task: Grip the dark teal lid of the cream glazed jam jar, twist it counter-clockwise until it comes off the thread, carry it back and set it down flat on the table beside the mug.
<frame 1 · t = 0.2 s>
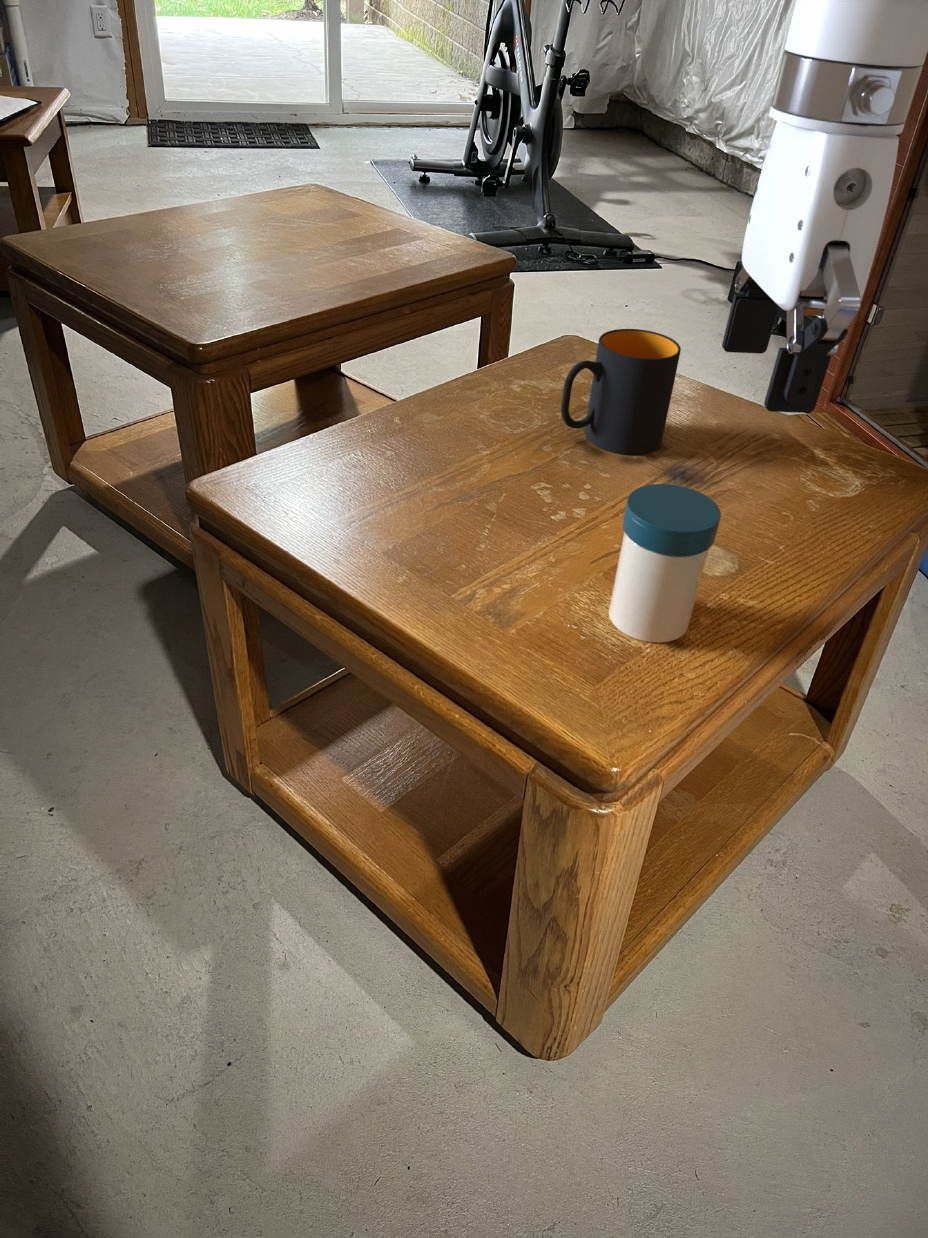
hand: (764, 378, 64), 20 cm above the table, tool pointing down, fingers open, 9 cm apart
jar: (648, 617, 75), on the table
mug: (607, 440, 100), on the table
jar lid: (672, 511, 69), point 10 cm above the table, screwed on, not yet turned
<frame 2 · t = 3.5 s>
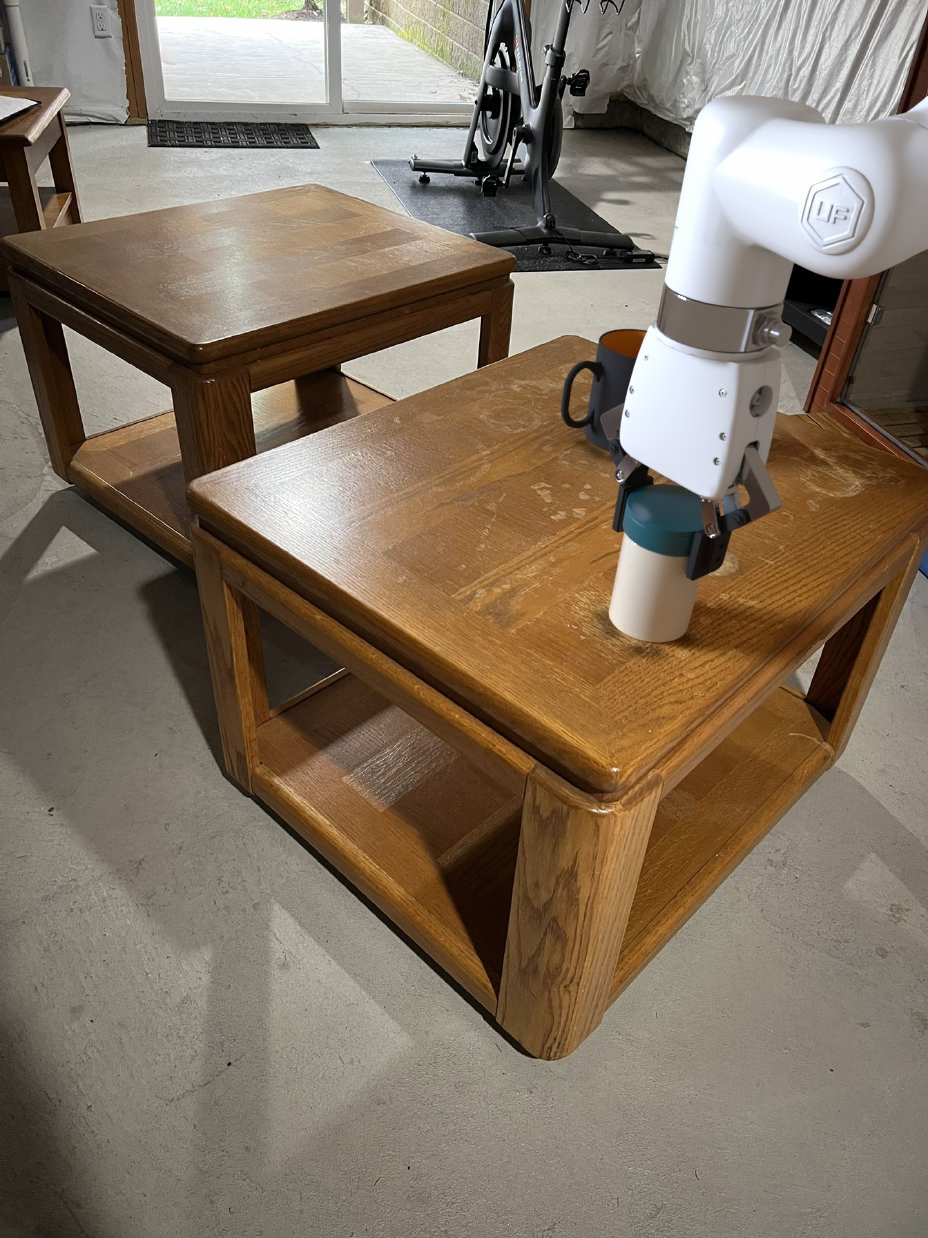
hand: (664, 547, 71), 7 cm above the table, tool pointing down, fingers closed on jar lid, 6 cm apart
jar lid: (672, 511, 69), point 10 cm above the table, screwed on, not yet turned, touching gripper
everything else where it was.
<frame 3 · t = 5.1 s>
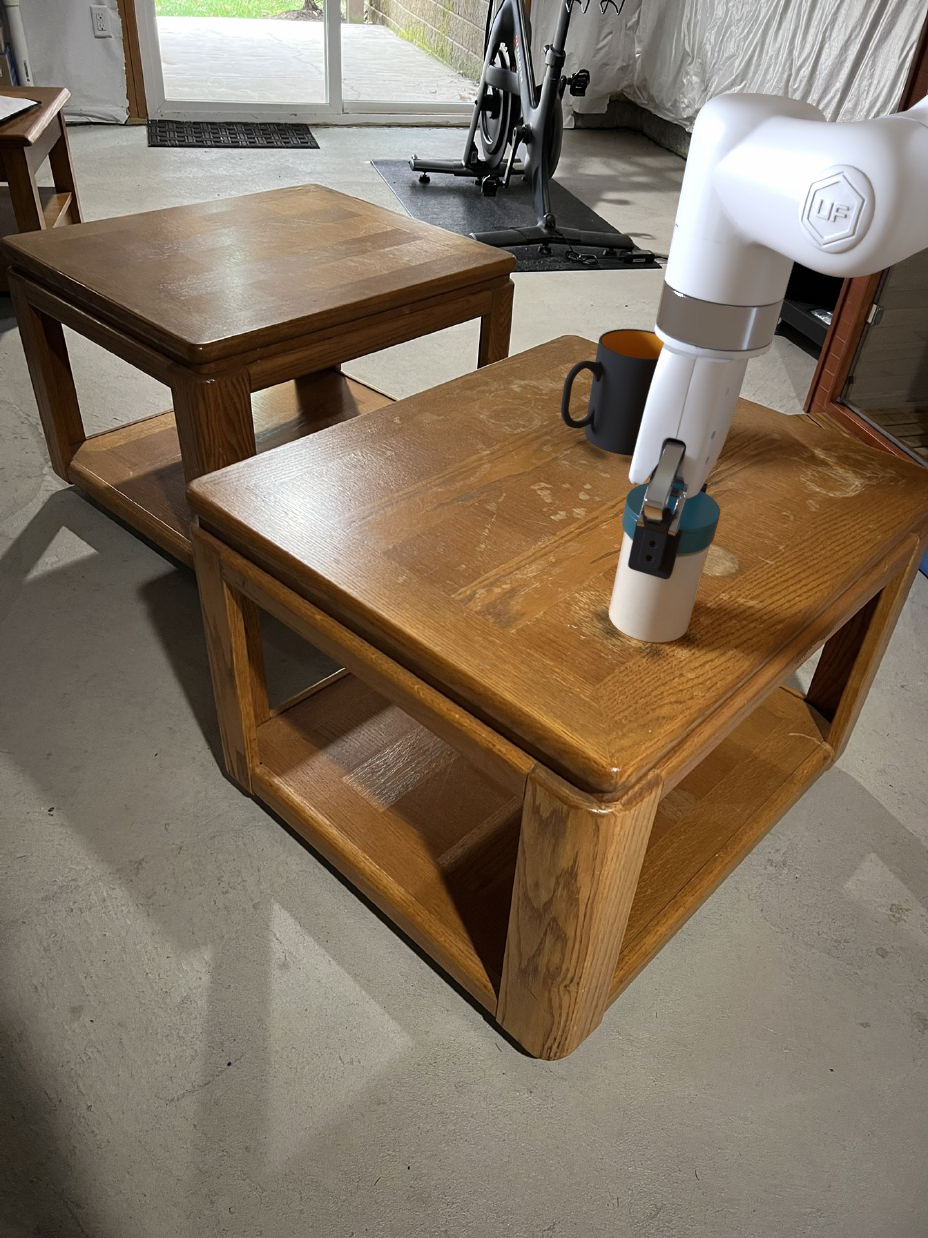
hand: (663, 545, 71), 7 cm above the table, tool pointing down, fingers closed on jar lid, 6 cm apart
jar lid: (672, 509, 69), point 10 cm above the table, off its thread, touching gripper
everything else where it was.
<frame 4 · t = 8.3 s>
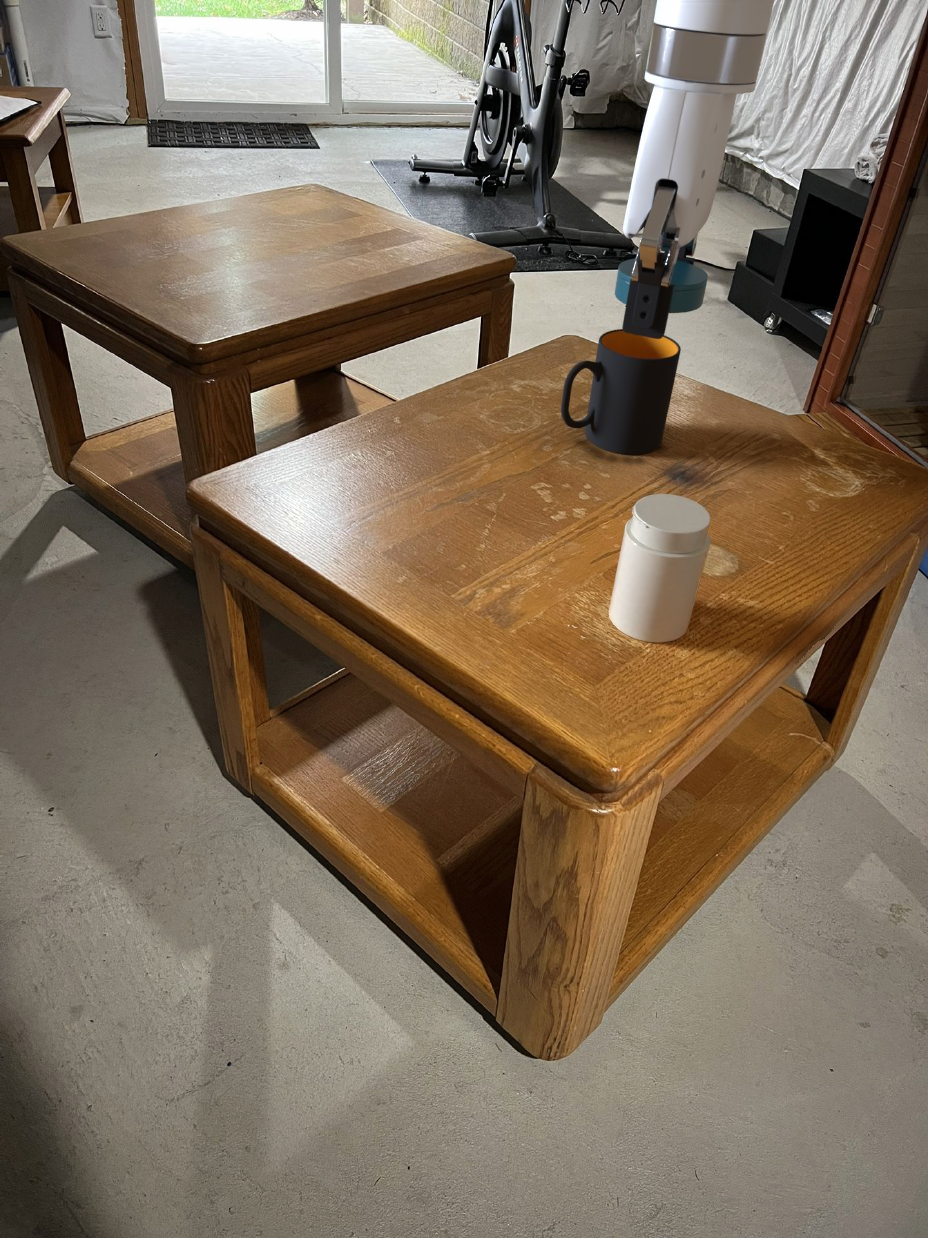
hand: (654, 317, 74), 19 cm above the table, tool pointing down, fingers closed on jar lid, 6 cm apart
jar lid: (662, 276, 72), point 23 cm above the table, off its thread, touching gripper
everything else where it was.
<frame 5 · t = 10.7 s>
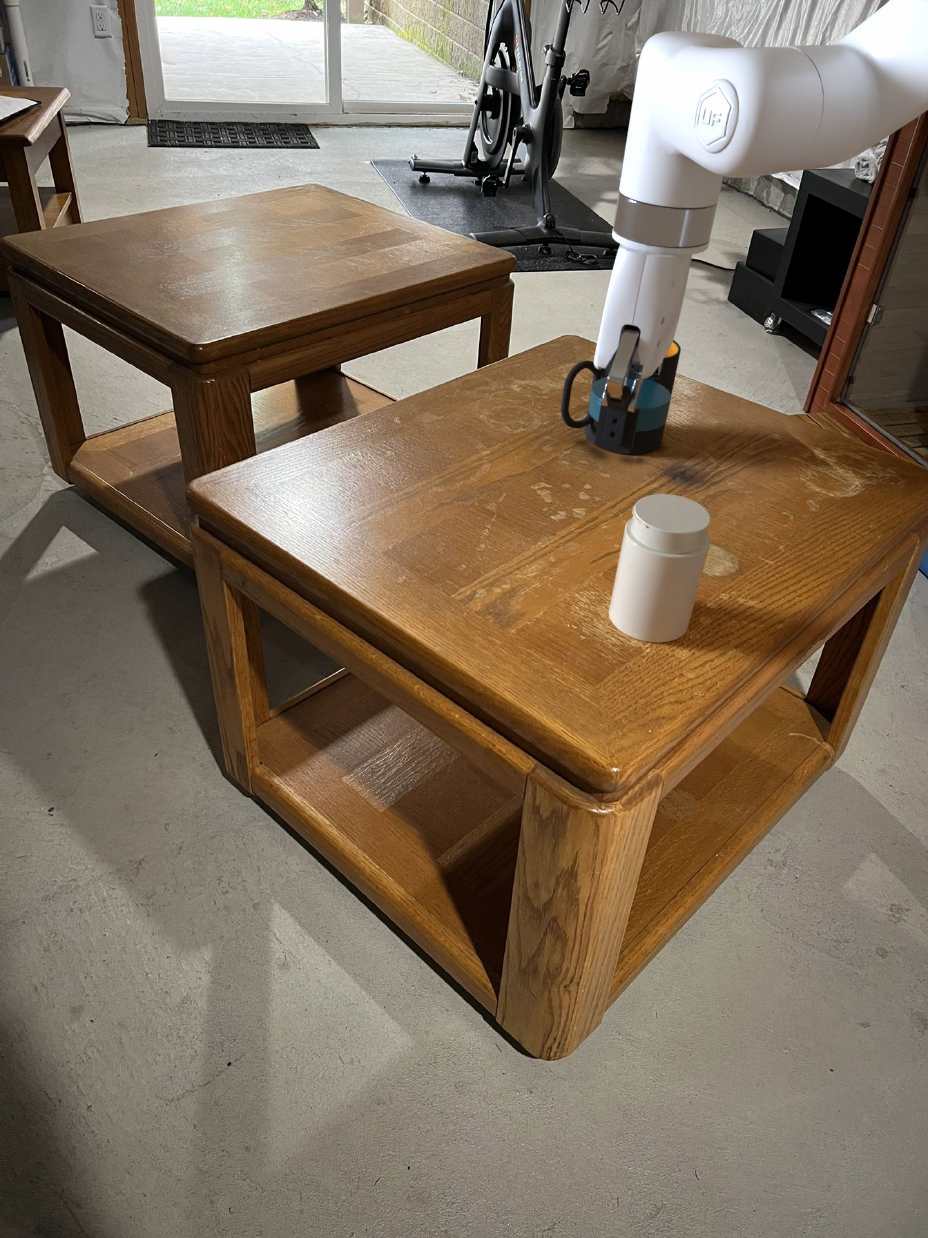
hand: (624, 430, 83), 8 cm above the table, tool pointing down, fingers closed on jar lid, 6 cm apart
jar lid: (630, 395, 81), point 12 cm above the table, off its thread, touching gripper
everything else where it was.
when the fingers open (1 cm above the table, at t = 13.1 s): jar lid drops 3 cm, point 2 cm above the table.
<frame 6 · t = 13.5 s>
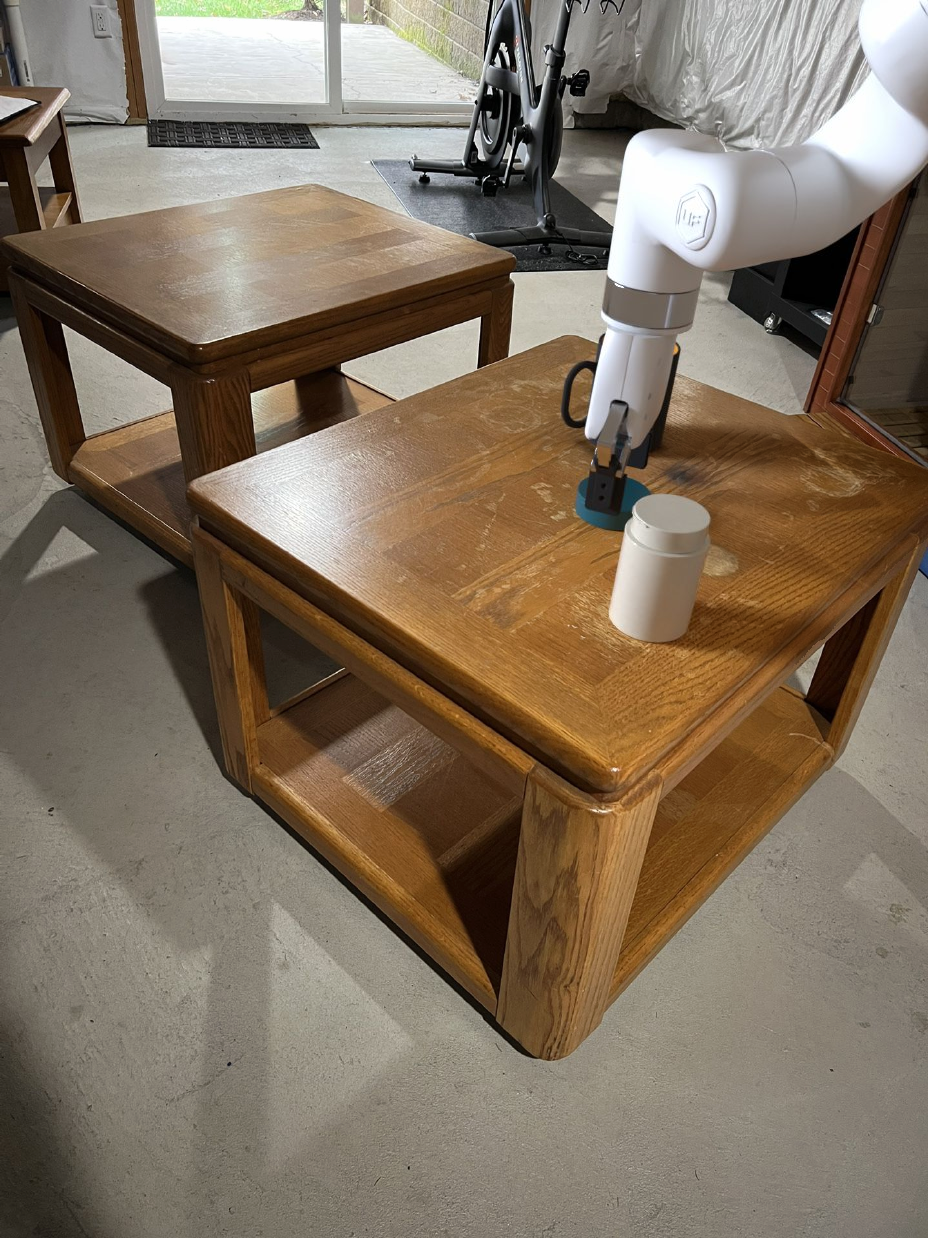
hand: (616, 487, 86), 3 cm above the table, tool pointing down, fingers open, 9 cm apart
jar lid: (614, 495, 87), point 2 cm above the table, off its thread
everything else where it was.
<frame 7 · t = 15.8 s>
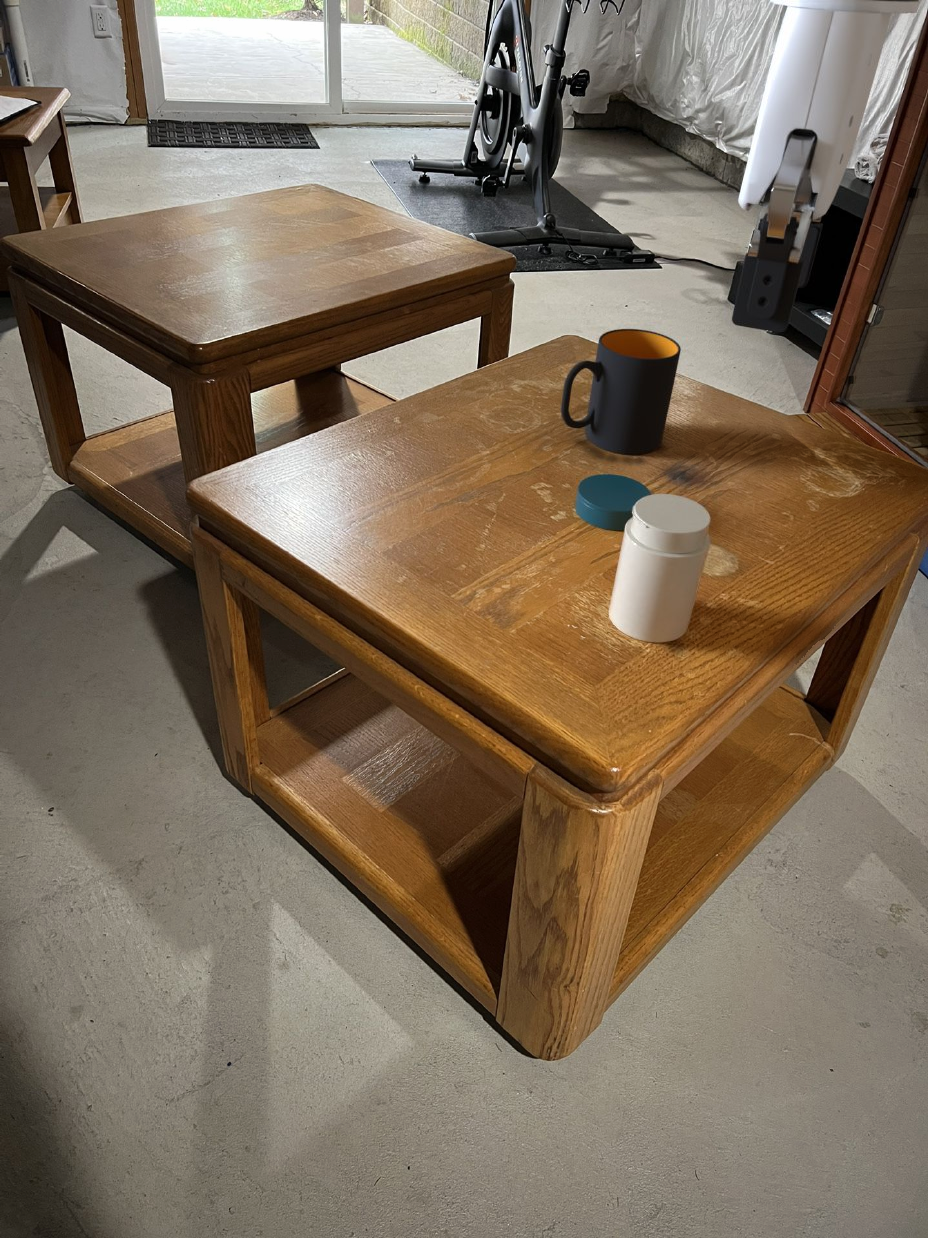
hand: (770, 304, 59), 26 cm above the table, tool pointing down, fingers open, 9 cm apart
nothing on the table moved.
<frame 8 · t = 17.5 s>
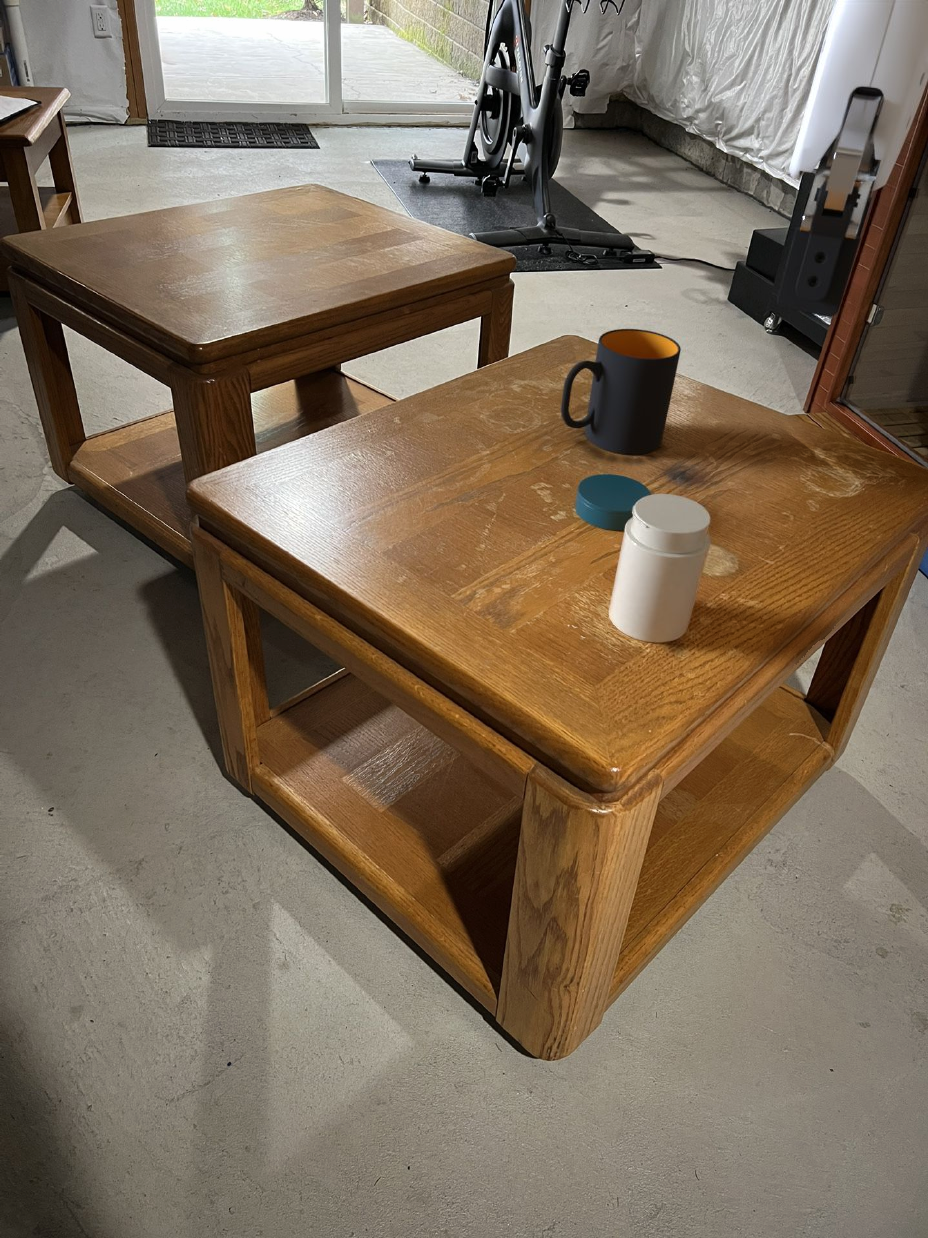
hand: (815, 285, 54), 28 cm above the table, tool pointing down, fingers open, 9 cm apart
nothing on the table moved.
at the end: jar lid inside the target area on the table beside the mug (0.1 cm from its centre), point 1.9 cm above the table; jar lid moved 18.4 cm from its start; the gripper is holding nothing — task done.
